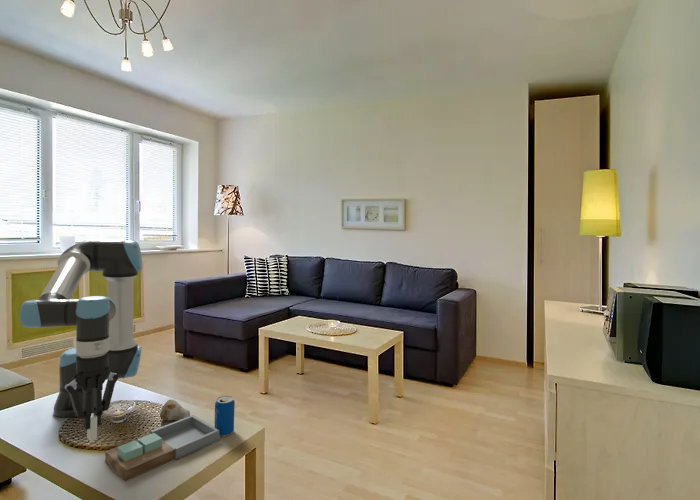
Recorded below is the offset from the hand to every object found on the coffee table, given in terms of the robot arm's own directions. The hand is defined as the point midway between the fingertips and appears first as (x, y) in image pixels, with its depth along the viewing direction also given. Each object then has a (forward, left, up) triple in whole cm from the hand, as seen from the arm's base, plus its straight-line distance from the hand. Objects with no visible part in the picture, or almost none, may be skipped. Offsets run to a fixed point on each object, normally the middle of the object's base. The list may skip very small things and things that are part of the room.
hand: (92, 438), depth 109 cm
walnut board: (0, +13, -12) cm, 18 cm away
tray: (0, +28, -12) cm, 30 cm away
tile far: (0, +16, -9) cm, 18 cm away
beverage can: (+5, +39, -12) cm, 41 cm away
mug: (-16, +33, -13) cm, 39 cm away
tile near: (0, +10, -9) cm, 14 cm away
